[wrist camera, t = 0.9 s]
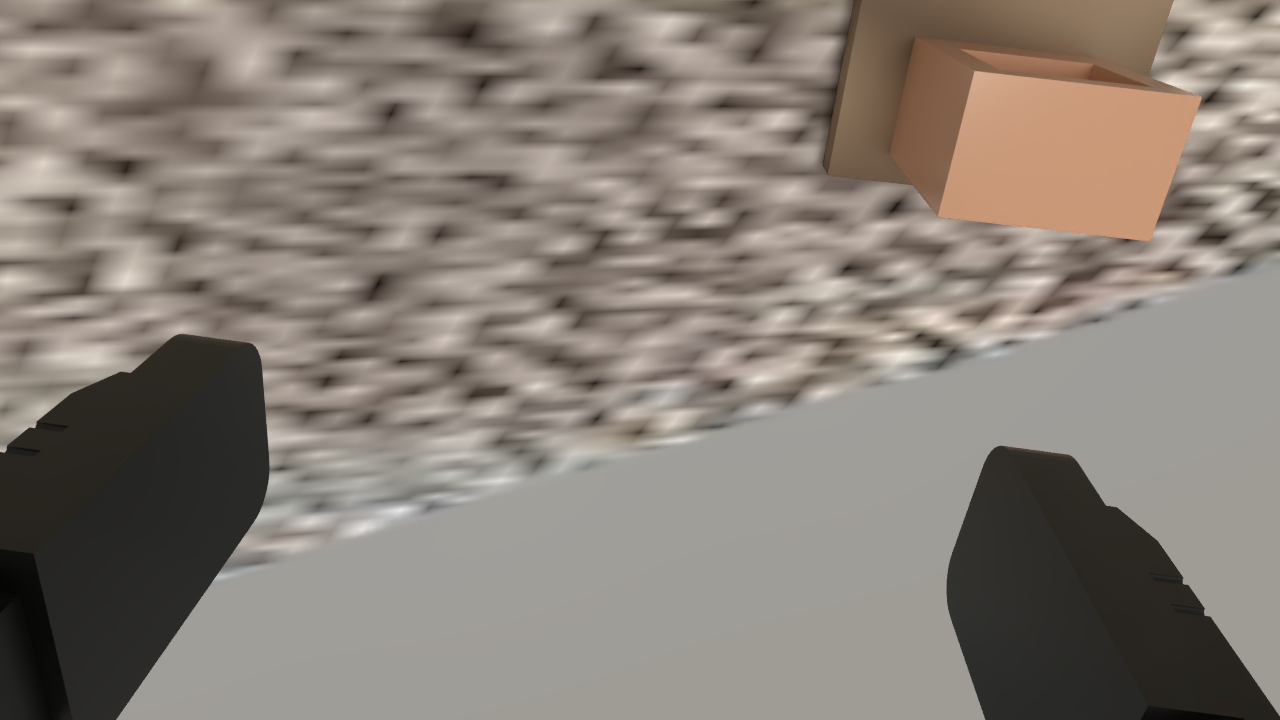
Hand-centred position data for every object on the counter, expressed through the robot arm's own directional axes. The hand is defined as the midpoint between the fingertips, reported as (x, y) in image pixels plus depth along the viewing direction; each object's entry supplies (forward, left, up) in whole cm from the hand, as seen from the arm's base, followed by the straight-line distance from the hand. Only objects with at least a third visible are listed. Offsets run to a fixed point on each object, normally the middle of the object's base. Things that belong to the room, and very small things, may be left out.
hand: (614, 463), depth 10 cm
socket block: (-1, +11, -25) cm, 27 cm away
